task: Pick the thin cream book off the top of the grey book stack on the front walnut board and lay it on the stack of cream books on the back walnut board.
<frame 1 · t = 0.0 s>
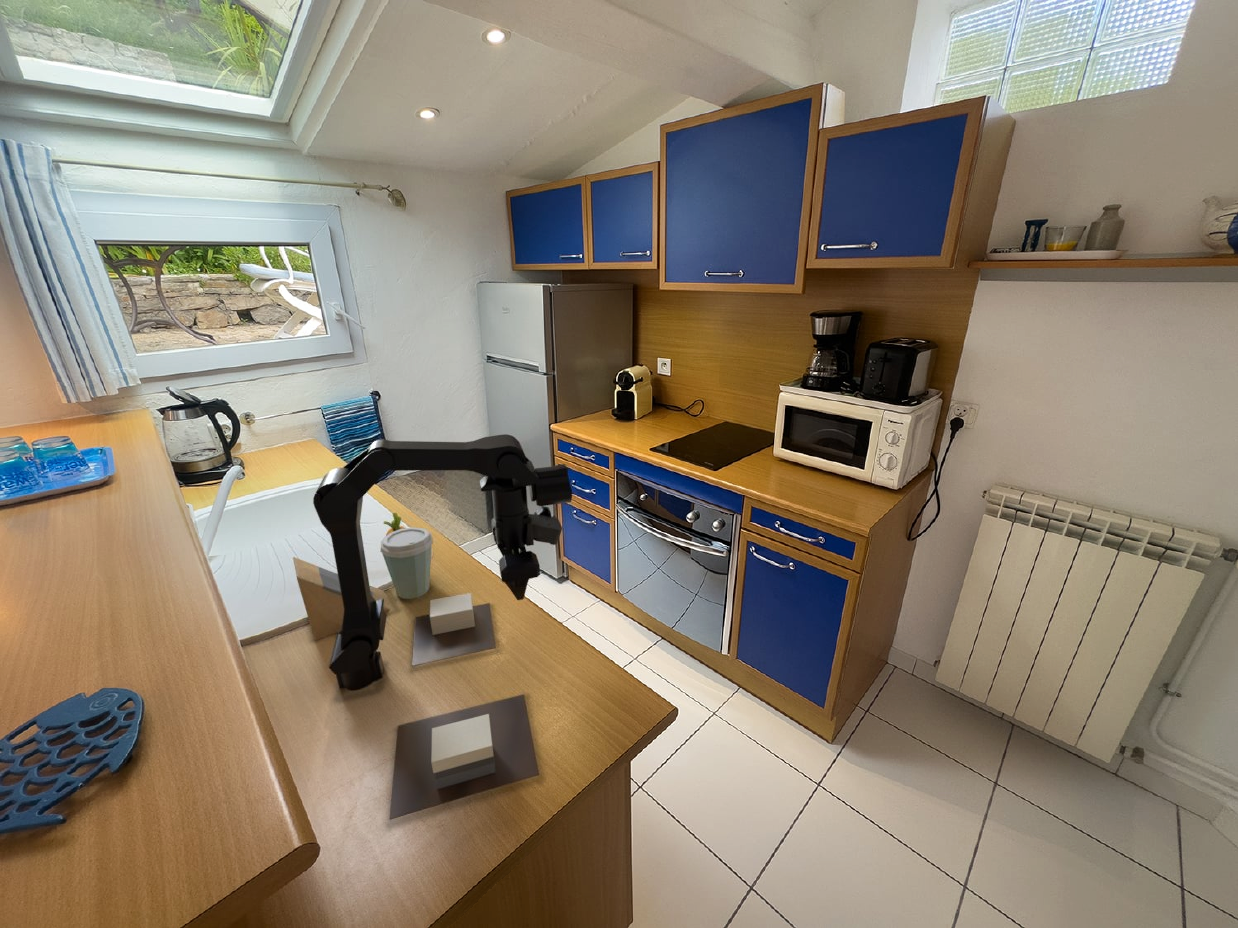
hand: (516, 584, 90), 15 cm above the counter, tool pointing down, fingers open, 9 cm apart
carrot: (404, 570, 119), on the counter
cream books: (453, 621, 101), point 1 cm above the counter, touching back board
front board: (465, 753, 75), on the counter
disposable coffee cup: (415, 593, 111), on the counter
sandwich container: (353, 615, 104), on the counter
cream book: (463, 747, 71), point 5 cm above the counter, touching grey books
back board: (454, 635, 98), on the counter
grey books: (466, 766, 72), point 1 cm above the counter, touching cream book, front board
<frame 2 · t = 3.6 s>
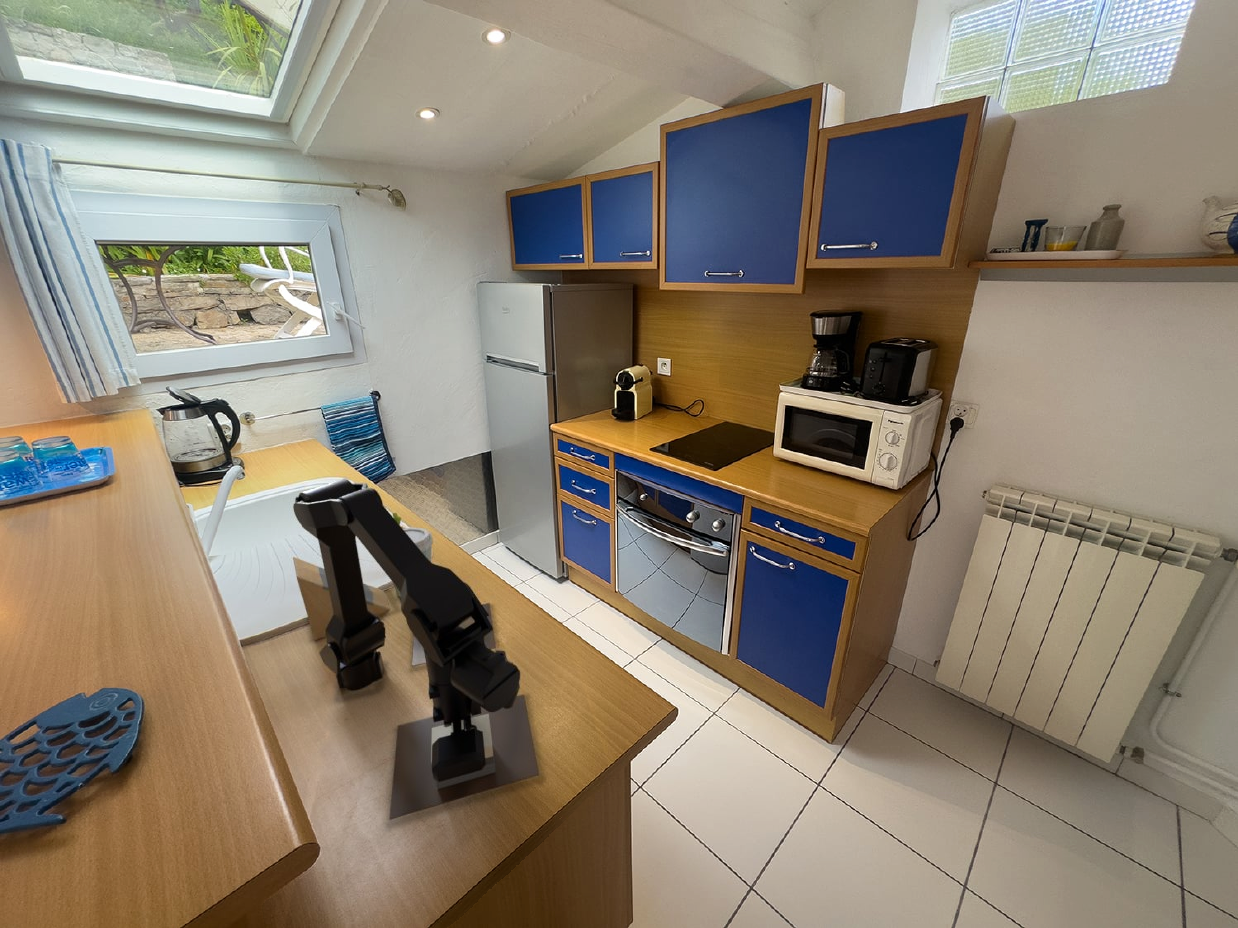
hand: (463, 750, 71), 4 cm above the counter, tool pointing down, fingers closed on cream book, 5 cm apart
cream book: (463, 747, 71), point 5 cm above the counter, touching grey books, gripper
everything else where it was.
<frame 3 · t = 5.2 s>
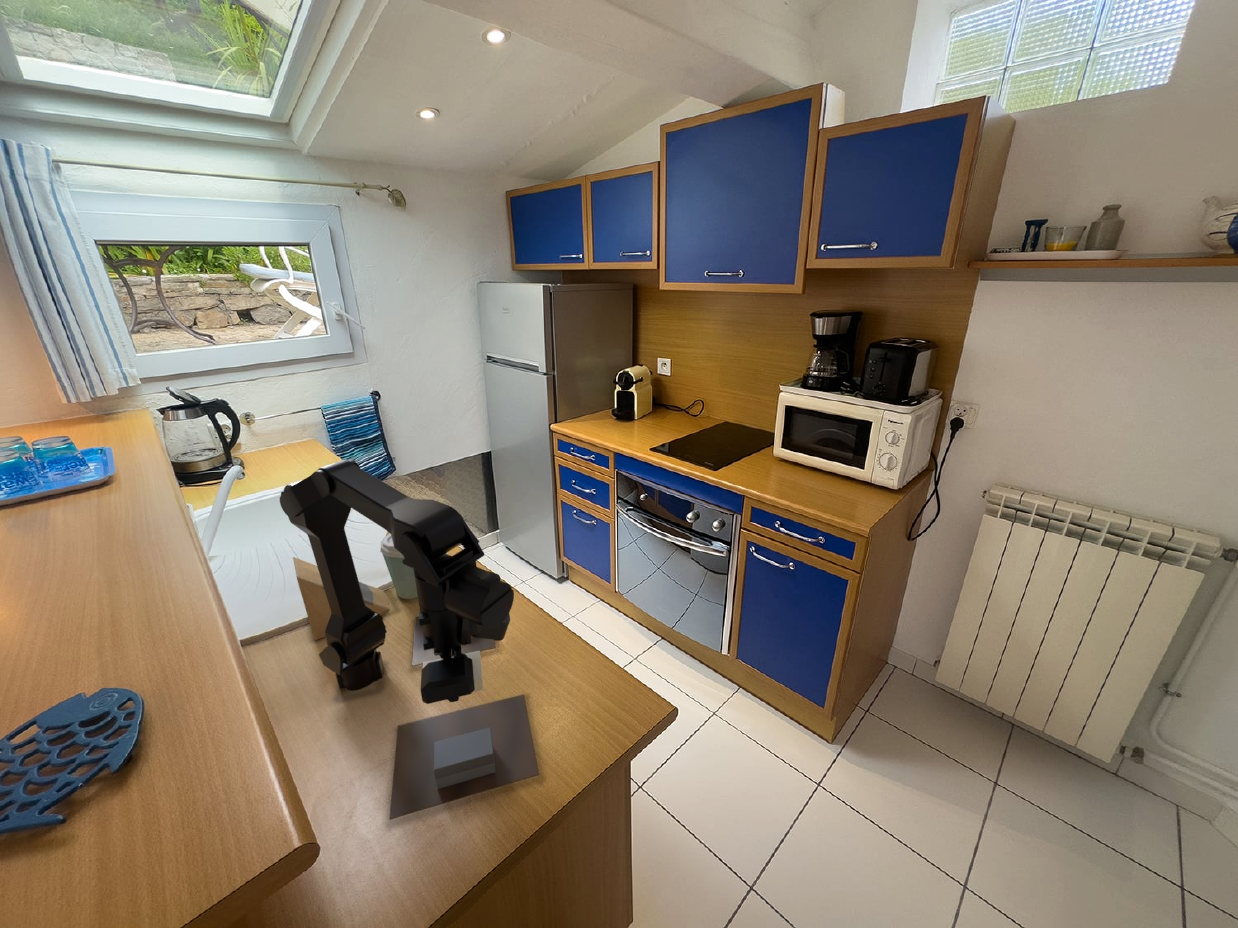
hand: (454, 684, 71), 13 cm above the counter, tool pointing down, fingers closed on cream book, 5 cm apart
cream book: (453, 681, 71), point 13 cm above the counter, touching gripper
grey books: (466, 766, 72), point 1 cm above the counter, touching front board
everything else where it was.
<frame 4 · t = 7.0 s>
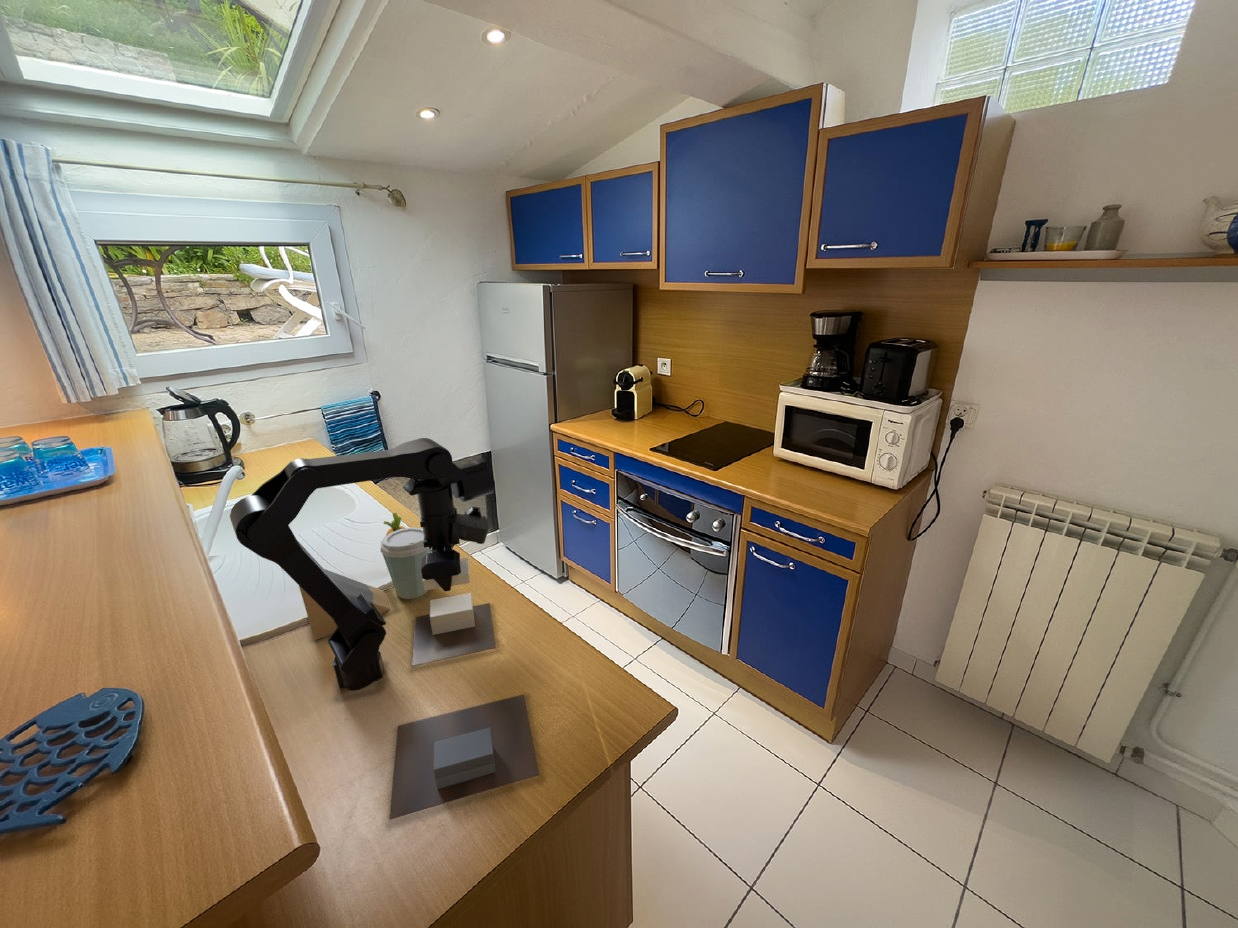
hand: (447, 581, 93), 13 cm above the counter, tool pointing down, fingers closed on cream book, 5 cm apart
cream book: (447, 578, 93), point 14 cm above the counter, touching gripper
everything else where it was.
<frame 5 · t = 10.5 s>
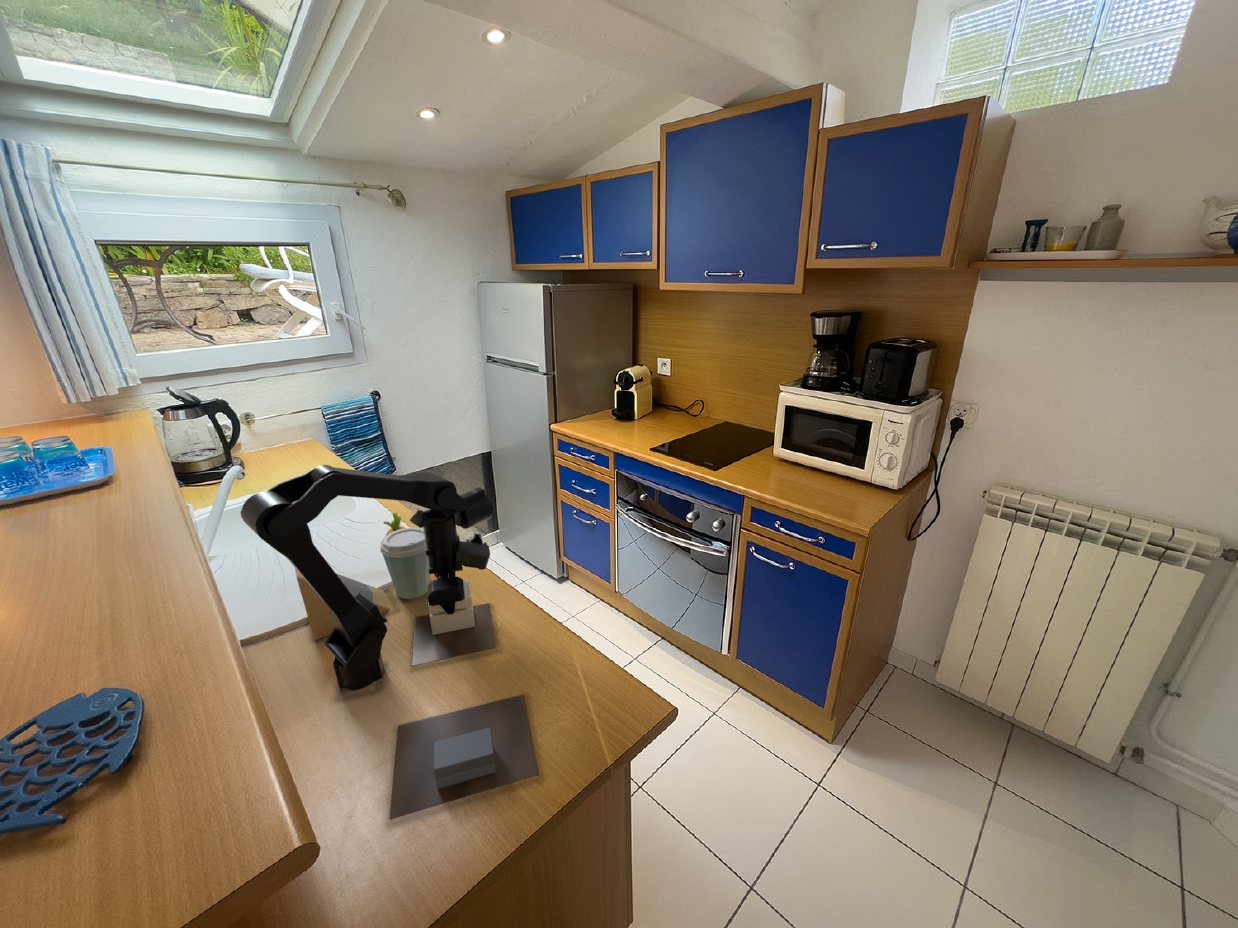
hand: (450, 604, 99), 5 cm above the counter, tool pointing down, fingers closed on cream book, 5 cm apart
cream books: (453, 621, 101), point 1 cm above the counter, touching back board, gripper
cream book: (450, 601, 99), point 6 cm above the counter, touching gripper
everything else where it was.
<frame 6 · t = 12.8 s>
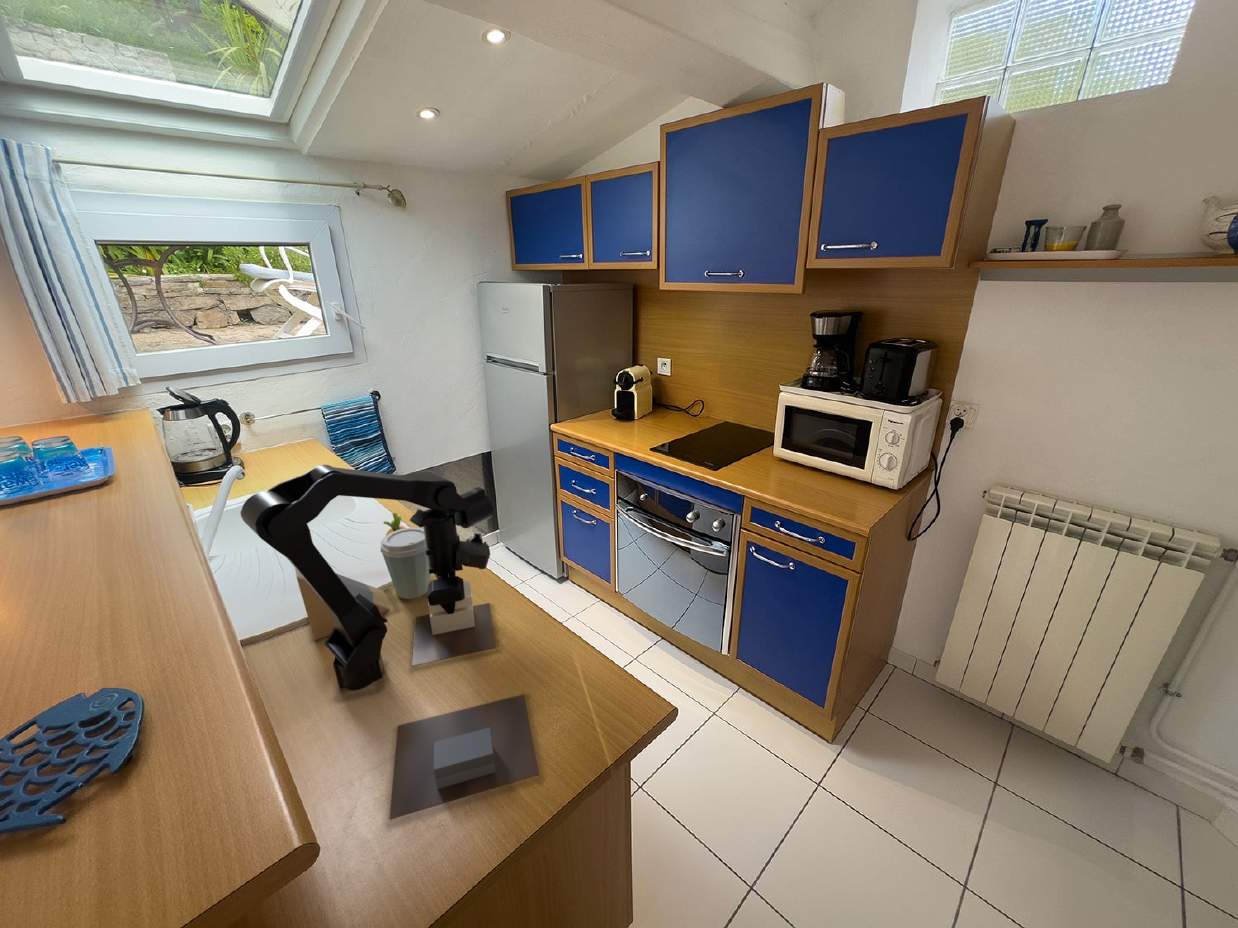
hand: (450, 604, 99), 5 cm above the counter, tool pointing down, fingers closed on cream book, 5 cm apart
cream books: (453, 621, 101), point 1 cm above the counter, touching back board
cream book: (451, 601, 99), point 6 cm above the counter, touching gripper
everything else where it was.
when the fingers open (6 cm above the counter, at t = 14.4 s): cream book stays where it is, resting on cream books.
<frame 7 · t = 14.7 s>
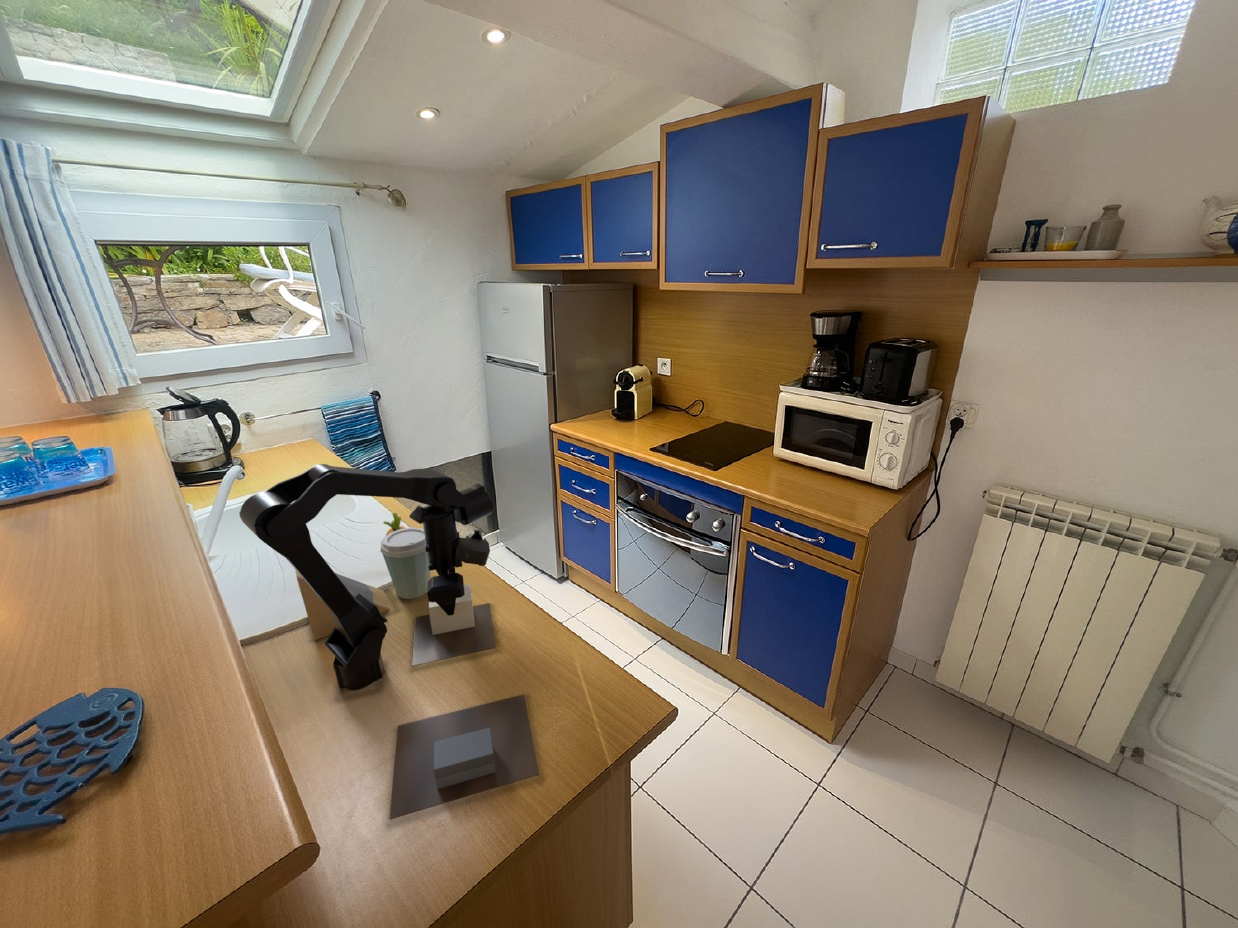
hand: (450, 601, 99), 6 cm above the counter, tool pointing down, fingers open, 8 cm apart
cream books: (453, 621, 101), point 1 cm above the counter, touching back board, cream book
cream book: (451, 604, 99), point 5 cm above the counter, touching cream books
everything else where it was.
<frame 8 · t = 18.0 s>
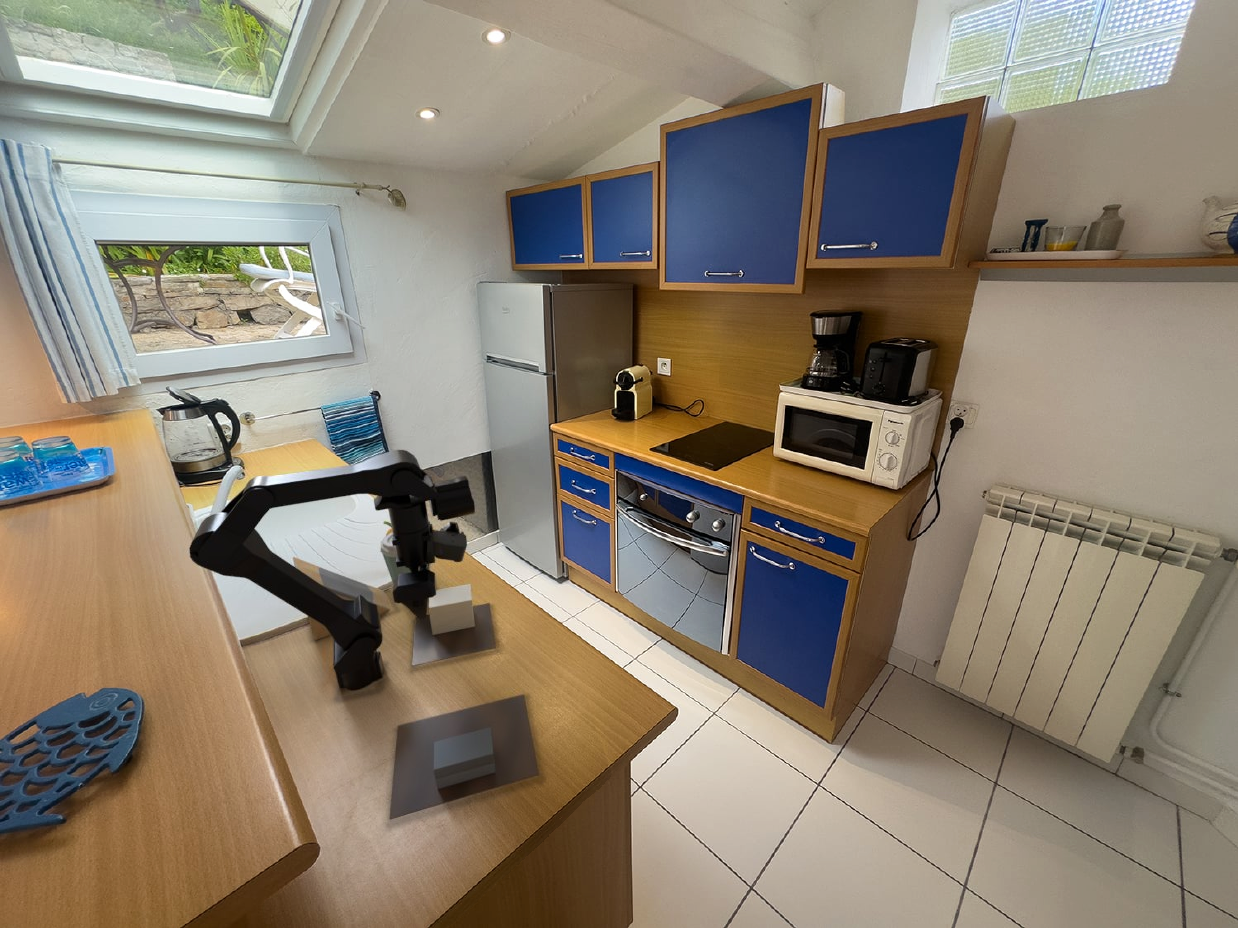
hand: (423, 601, 88), 13 cm above the counter, tool pointing down, fingers open, 9 cm apart
nothing on the counter moved.
at the end: cream book 0.1 cm off-centre on the cream books, point 4.4 cm above the cream books's base; cream book tilted 0°; the gripper is holding nothing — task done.
